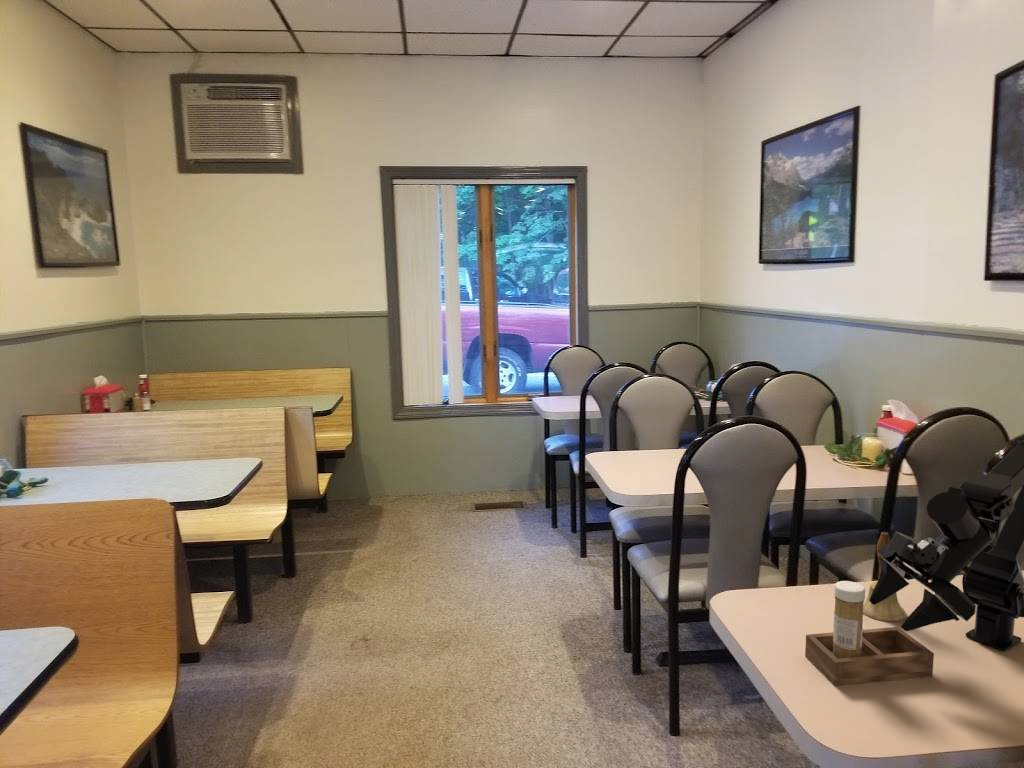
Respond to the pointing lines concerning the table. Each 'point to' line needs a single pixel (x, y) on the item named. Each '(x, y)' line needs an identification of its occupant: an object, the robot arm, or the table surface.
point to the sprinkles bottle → (848, 619)
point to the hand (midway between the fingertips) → (886, 615)
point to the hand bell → (890, 605)
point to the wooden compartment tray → (871, 657)
